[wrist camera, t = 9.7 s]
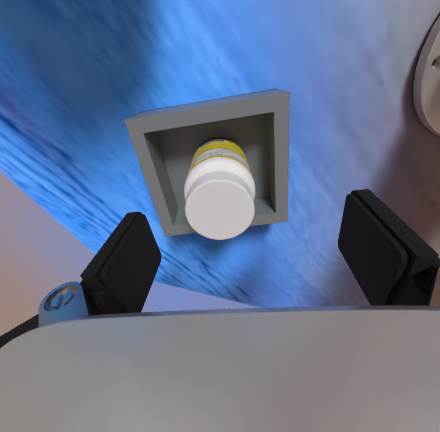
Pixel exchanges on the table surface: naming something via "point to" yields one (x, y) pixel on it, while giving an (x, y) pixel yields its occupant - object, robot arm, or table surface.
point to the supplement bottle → (219, 190)
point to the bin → (205, 129)
